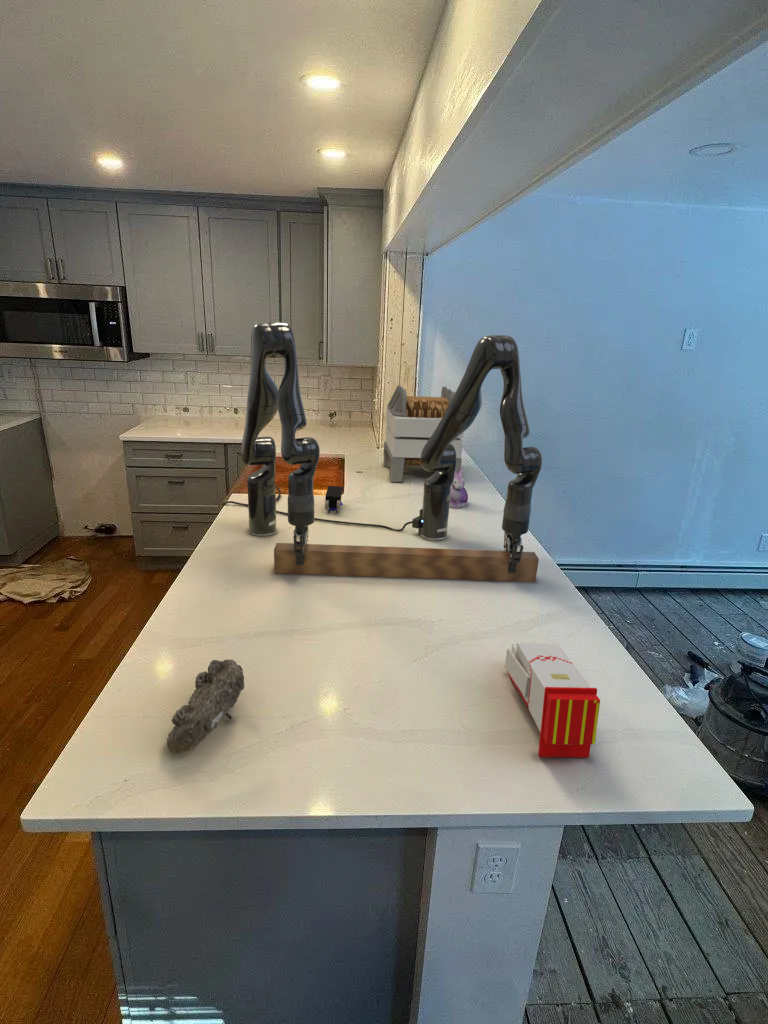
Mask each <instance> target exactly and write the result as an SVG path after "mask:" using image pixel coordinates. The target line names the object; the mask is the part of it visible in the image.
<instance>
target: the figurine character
mask: <svg viewBox="0 0 768 1024" xmlns="http://www.w3.org/2000/svg"><path fill="white" fill-rule="evenodd" d="M343 491H344V486H337V485H328V486H327V488H326V493H325V497H324V498H325V500H324V510H327V513H328V514H330V513H331V511H335V514H338V513H339V510H341V507H342V506H343V504H344V503H343V502H342V496H343Z"/></svg>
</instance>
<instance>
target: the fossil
mask: <svg viewBox="0 0 768 1024" xmlns="http://www.w3.org/2000/svg"><path fill="white" fill-rule="evenodd" d="M243 670H244V669H243V667H242V665H240V664H237V662H236V661H235V660H234V659H232V658H231V659H227V658H226V659H224V660H223V661H222V660H217V659H212V660H211V661H210V663H209V665H208V666H207V671H201V672H199V673H198V674H197V675H196V676H195V680H194V684H195V685H194V687H195V689H194V690H193V693H192V694H191V697H190V698H189V700H188V704H184V705H182V706H181V707H180V709H177V710H176V711H175V713H174V715H173V716H172V718H171V723H172V724H173V727H172V730H171V731H170V732H168V734H167V738H166V741H167V742H166V745H167V749H168V750H169V751H173V752H174V753H176V754H178V753H182V752H188V751H189V752H192V751H193V750H195V748H196V747H197V746H199V744H200V743H201V742H203V741H204V740H205V739H206V738H207V737H208V736H209V735H210V734H211V733H212V732H214V730H215V729H217V727H218V726H219V724H220V722H221V721H222V720H223V719H224V718H225V716H226V717H227V719H229V720H233V717H232V715H230V714H229V710H230V709H231V708H234V706H235V704H236V703H237V702H238V699H239V697H240V695H241V693H242V691H243V690H245V689H244V688H245V675H244V671H243Z"/></svg>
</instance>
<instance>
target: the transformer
mask: <svg viewBox="0 0 768 1024" xmlns="http://www.w3.org/2000/svg"><path fill="white" fill-rule="evenodd" d="M455 392H456V391H453V390H452V389H451V388H447V386H442V387H441V392H440V393H441V394H440V396H415V395H414V396H413V395H412V396H411V395H407V394H408V393H407V390H406V389H404V388H403V387H402V385H399V384H398V385H397V386H396V388H395V390H394V392H393V394H392V395H391V398H390V400H389V402H388V404H387V405H386V413H385V414H386V415H385V423H386V428H385V438H384V442H383V466H384V467H388V468H389V475H388V476H389V477H388V478H389V480H390V482H391V483H402V482H403V475H404V469H405V466H406V467H407V466H411V467H412V466H413V467H415V466H416V467H417V466H418V467H422V466H421V462H420V457H421V453H422V450H423V448H424V446H425V444H426V443H427V442H428V440H429V439H430V437H431V436H432V434H433V433H434V431H435V430H436V428H437V426H438V424H439V423H440V421H441V419H442V417H443V415H444V414H445V411H446V409H447V407H448V405H449V403H450V401H451V399H452V398H453V396H454V394H455ZM463 438H464V432H463V433H462V434H460V435H459V436H458V437H457V438H455V439H454V440H453V441H452V442H451V443H450V444H452V445H453V446H454V448H455V450H456V468H455V470H456V472H457V473H459V471H460V469H462V461H463V460H462V453H463V442H464V441H463V440H462V439H463Z"/></svg>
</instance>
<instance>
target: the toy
mask: <svg viewBox="0 0 768 1024" xmlns="http://www.w3.org/2000/svg"><path fill="white" fill-rule="evenodd" d="M504 668H505V670H506V671H507V675H508V676H509V678H510V680H511V682H512V683H513V685H514V687H515V688H516V690H517V691H518V693H519V695H520V697H521V698H522V700H523V702H524V703H525V705H526V707H527V708H528V711H529V713H530V715H531V717H532V719H533V721H534V723H535V725H536V727H537V729H538V731H539V743H538V753H537V755H538V757H539V758H590V753H591V746H593V745H595V744H596V738H597V729H598V722H599V713H600V706H601V699H600V698H599V696H598V688H597V687H591V686H590V684H589V683H588V682H587V680H586V679H585V678H584V676H583V675H582V674H581V672H580V671H579V669H578V668H577V667H576V666H575V664H574V663H573V661H572V660H571V659H570V658H569V657H568V655H567V654H566V653H565V651H564V649H563V648H562V647H561V646H560V645H559V643H556V642H555V643H554V642H516V643H511V648H507V649H506V654H505V662H504Z"/></svg>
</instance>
